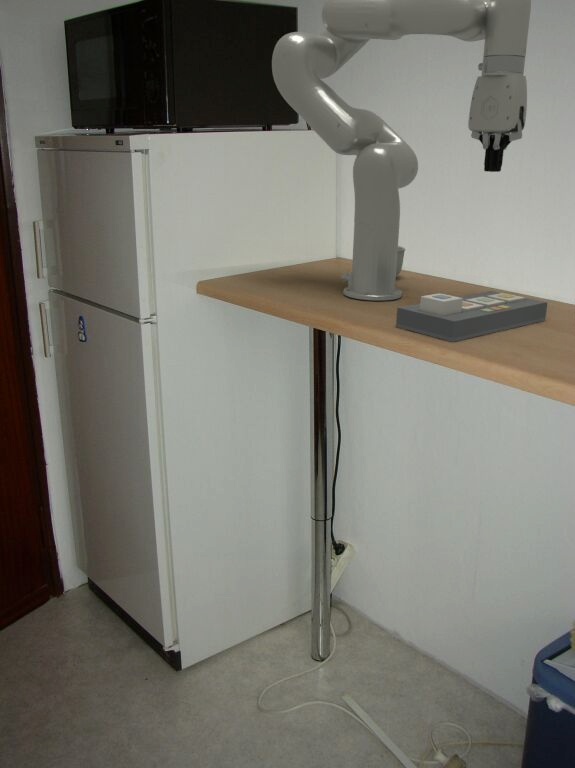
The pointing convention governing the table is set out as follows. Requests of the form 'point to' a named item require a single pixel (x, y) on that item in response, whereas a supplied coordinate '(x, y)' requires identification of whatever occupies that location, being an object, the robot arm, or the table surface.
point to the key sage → (486, 301)
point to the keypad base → (471, 318)
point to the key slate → (441, 304)
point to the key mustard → (506, 297)
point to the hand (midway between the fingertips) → (492, 171)
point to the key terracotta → (471, 306)
